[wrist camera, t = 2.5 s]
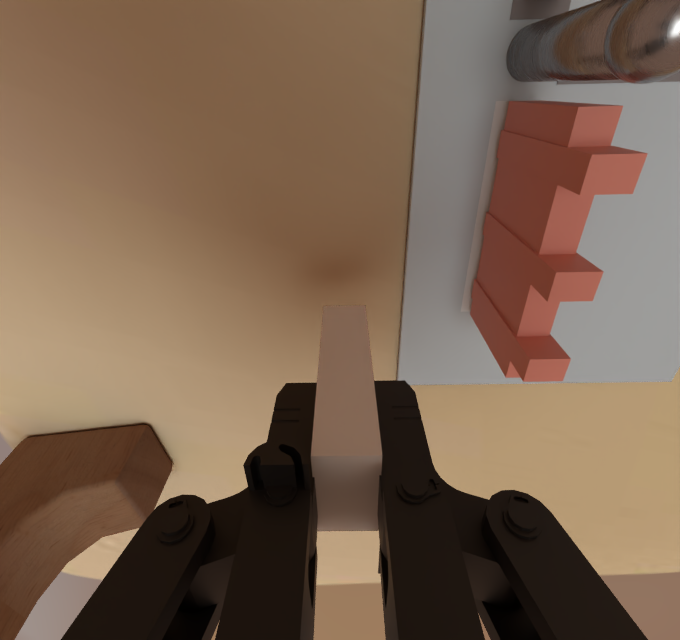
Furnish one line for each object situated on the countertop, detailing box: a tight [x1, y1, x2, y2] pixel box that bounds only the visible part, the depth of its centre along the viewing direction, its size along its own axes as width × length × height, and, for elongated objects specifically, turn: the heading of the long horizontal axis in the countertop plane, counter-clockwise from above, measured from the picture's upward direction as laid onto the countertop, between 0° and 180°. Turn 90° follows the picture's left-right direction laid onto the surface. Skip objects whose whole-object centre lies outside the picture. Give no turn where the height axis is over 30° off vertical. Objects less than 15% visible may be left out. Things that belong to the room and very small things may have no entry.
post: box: [506, 0, 680, 84], centre depth 11 cm, size 2×2×8 cm
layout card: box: [397, 0, 680, 385], centre depth 15 cm, size 28×16×1 cm, turn 1°
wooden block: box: [0, 425, 172, 640], centre depth 19 cm, size 9×4×18 cm, turn 99°
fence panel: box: [470, 100, 648, 382], centre depth 14 cm, size 10×1×6 cm, turn 1°
